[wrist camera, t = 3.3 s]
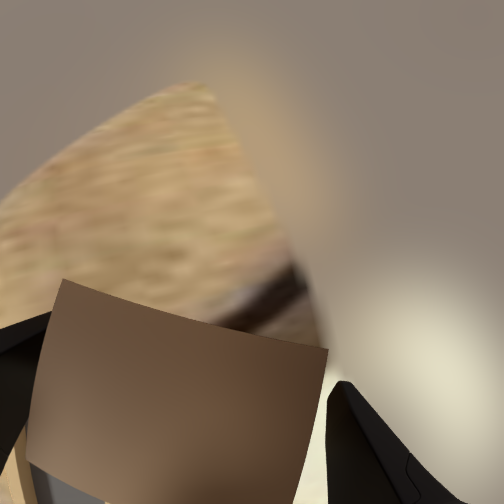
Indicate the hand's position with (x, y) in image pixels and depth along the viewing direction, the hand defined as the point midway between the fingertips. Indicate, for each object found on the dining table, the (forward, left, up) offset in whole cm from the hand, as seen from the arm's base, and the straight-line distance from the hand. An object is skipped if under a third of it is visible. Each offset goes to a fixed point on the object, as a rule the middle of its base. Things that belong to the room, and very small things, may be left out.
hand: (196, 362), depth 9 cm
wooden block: (-1, +1, -7) cm, 7 cm away
